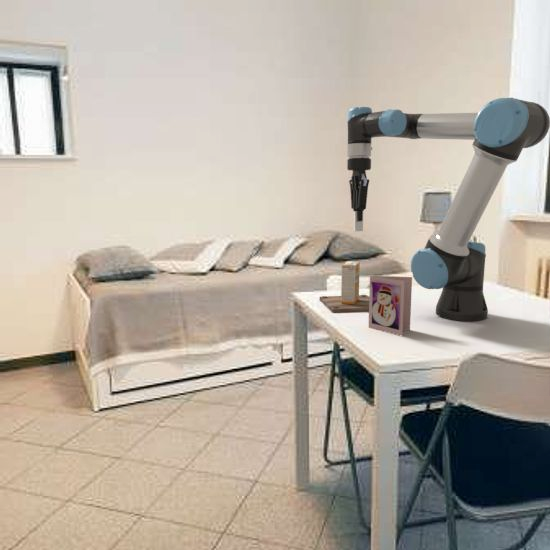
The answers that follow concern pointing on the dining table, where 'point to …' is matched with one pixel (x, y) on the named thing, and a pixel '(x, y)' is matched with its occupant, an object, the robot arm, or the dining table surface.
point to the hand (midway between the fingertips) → (358, 231)
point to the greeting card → (390, 303)
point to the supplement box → (350, 282)
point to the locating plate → (336, 306)
